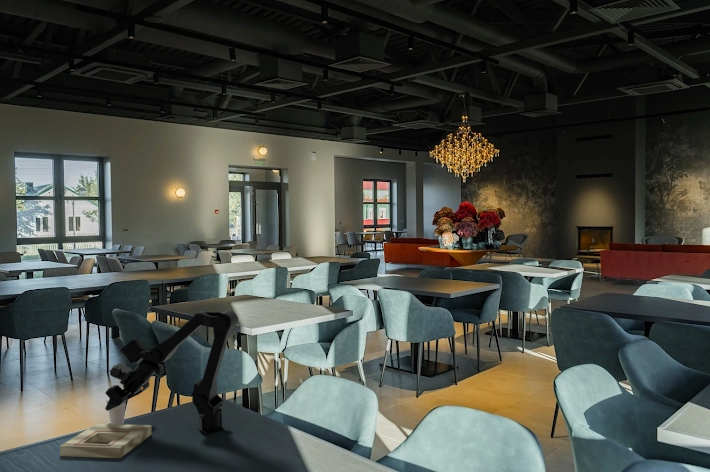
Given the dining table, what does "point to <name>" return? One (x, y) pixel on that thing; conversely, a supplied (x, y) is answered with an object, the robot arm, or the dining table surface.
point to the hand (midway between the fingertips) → (112, 406)
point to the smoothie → (117, 414)
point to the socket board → (114, 434)
